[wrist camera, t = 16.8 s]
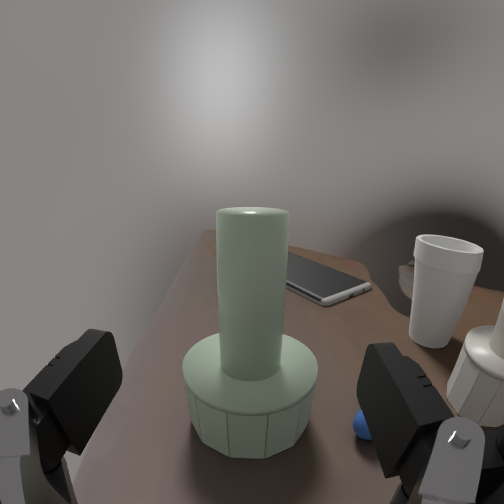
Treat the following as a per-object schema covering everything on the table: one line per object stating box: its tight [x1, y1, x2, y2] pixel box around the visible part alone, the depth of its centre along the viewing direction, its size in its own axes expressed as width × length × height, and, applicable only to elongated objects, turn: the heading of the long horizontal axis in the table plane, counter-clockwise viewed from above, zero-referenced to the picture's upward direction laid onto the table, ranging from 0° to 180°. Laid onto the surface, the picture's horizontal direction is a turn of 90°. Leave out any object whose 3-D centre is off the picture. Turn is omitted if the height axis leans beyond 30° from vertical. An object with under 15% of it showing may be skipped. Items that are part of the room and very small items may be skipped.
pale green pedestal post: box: [183, 207, 318, 459], centre depth 20 cm, size 10×10×17 cm
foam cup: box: [409, 235, 483, 348], centre depth 31 cm, size 10×9×13 cm
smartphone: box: [286, 252, 371, 306], centre depth 57 cm, size 13×27×2 cm, turn 33°
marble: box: [353, 410, 372, 440], centre depth 18 cm, size 3×3×3 cm
